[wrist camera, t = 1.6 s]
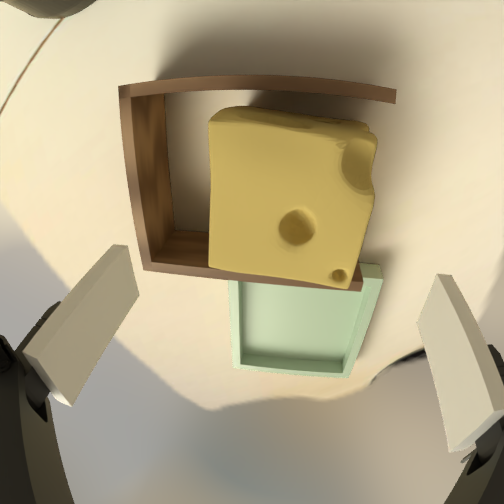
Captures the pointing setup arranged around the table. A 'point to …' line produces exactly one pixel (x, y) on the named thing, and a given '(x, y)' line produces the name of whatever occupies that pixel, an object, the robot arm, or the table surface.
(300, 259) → the cheese
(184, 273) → the cubby
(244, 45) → the table surface
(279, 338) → the tray
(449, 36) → the table surface
